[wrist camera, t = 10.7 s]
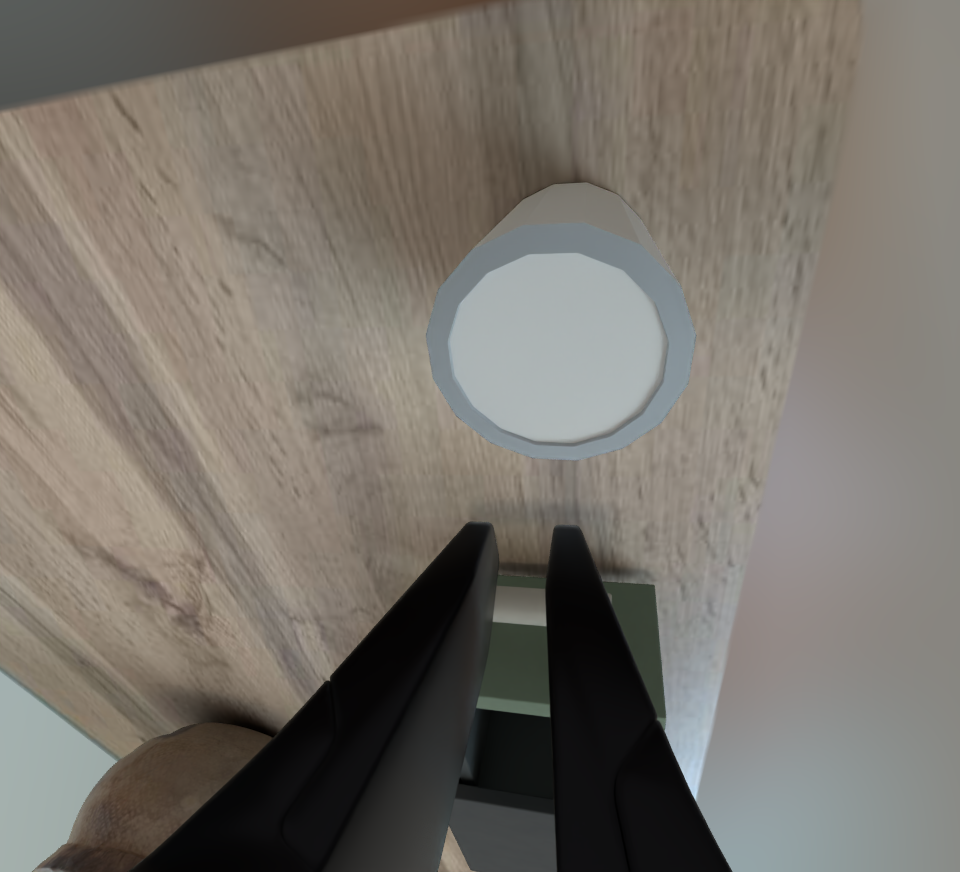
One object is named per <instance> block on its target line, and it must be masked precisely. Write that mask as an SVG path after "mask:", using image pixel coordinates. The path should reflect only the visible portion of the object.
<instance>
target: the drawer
mask: <svg viewBox="0 0 960 872" xmlns="http://www.w3.org/2000/svg"><path fill="white" fill-rule="evenodd" d="M603 584H604V587H605V589H606V592H607V594H608V596H609V599H610V601H611V604H612V606H613V609H614V611H615V613H616V616H617V618H618V621H619V623H620V626H621V628H622V630H623V633H624V635H625V638H626V640H627V643H628V645H629V647H630V650H631V652H632V655H633V657H634V660H635V662H636V664H637V667H638V669H639V672H640V674H641V677H642V679H643V681H644V684H645V686H646V689H647V691H648V694H649V696H650V698H651V701H652V703H653V706H654V708H655V711H656V713H657V716H658V717H657V720H659V721H660V722H661V724H662V727H663V729H664V730H665V723H666V710H665V698H664V687H663V675H662V664H661V652H660V641H659V629H658V618H657V606H656V595H655V586H654V585H649V584H633V583H617V582H603ZM545 585H546V578H538V577H522V576H506V575H498V579H497V587H496V596H495V605H494V614H493V623H492V631H491V640H490V647H489V653H488V658H487V663H486V668H485V672H484V676H483V680H482V685H481V689H480V693H479V698H478V702H477V706H476V710H475V715H474V719H473V723H472V727H471V732H470V736H469V740H468V745H467V749H466V753H465V757H464V762H463V766H462V770H461V774H460V778H461V780H462V783H463V784H465V785H471V786H477V787H483V788H490V789H496V790H502V791H508V792H514V793H521V794H527V795H533V796H539V797H545V798H551V799H554V794H553V770H552V747H551V723H550V700H549V676H548V652H547V629H546V605H545Z"/></svg>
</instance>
